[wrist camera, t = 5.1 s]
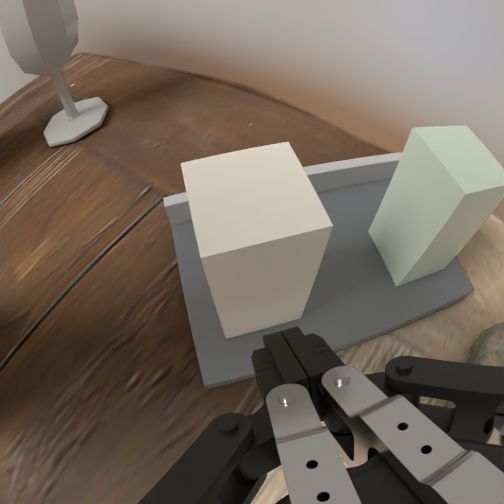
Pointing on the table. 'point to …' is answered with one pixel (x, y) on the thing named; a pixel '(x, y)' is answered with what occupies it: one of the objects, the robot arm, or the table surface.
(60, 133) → the wineglass
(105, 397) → the table surface
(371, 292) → the tile board
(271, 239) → the white block
